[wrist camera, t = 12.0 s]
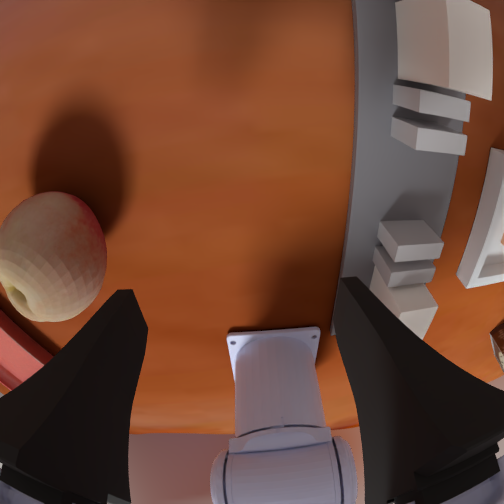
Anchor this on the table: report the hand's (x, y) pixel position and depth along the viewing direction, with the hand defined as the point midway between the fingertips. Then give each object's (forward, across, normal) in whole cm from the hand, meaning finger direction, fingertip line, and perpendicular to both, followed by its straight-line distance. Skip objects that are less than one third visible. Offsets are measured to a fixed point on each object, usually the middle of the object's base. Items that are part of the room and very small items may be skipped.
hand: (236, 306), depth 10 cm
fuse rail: (+9, -11, -1) cm, 15 cm away
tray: (+9, -25, +2) cm, 27 cm away
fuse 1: (+9, -11, +8) cm, 16 cm away
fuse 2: (+9, -11, -10) cm, 17 cm away
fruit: (+10, +12, +1) cm, 15 cm away
